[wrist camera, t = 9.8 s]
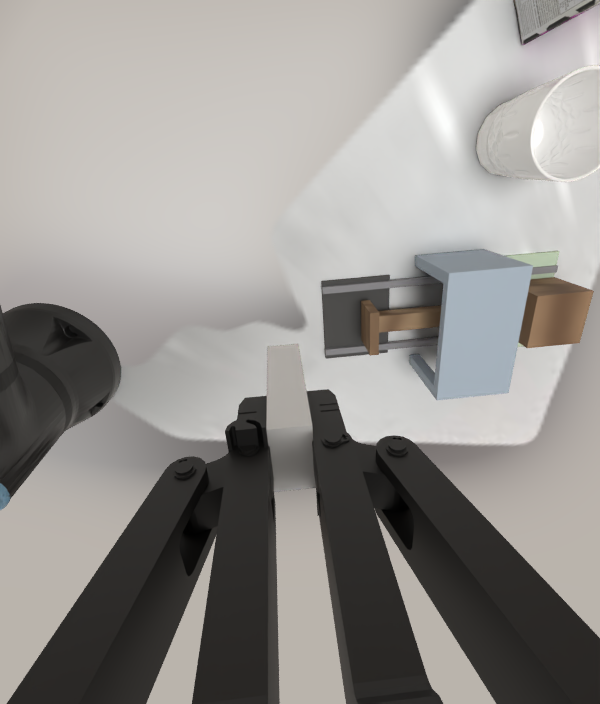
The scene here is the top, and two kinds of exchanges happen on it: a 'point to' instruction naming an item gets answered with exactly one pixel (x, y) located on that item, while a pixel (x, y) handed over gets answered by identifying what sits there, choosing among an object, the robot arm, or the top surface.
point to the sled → (537, 326)
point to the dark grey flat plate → (351, 313)
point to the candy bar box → (547, 15)
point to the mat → (538, 263)
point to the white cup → (546, 131)
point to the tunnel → (465, 320)
